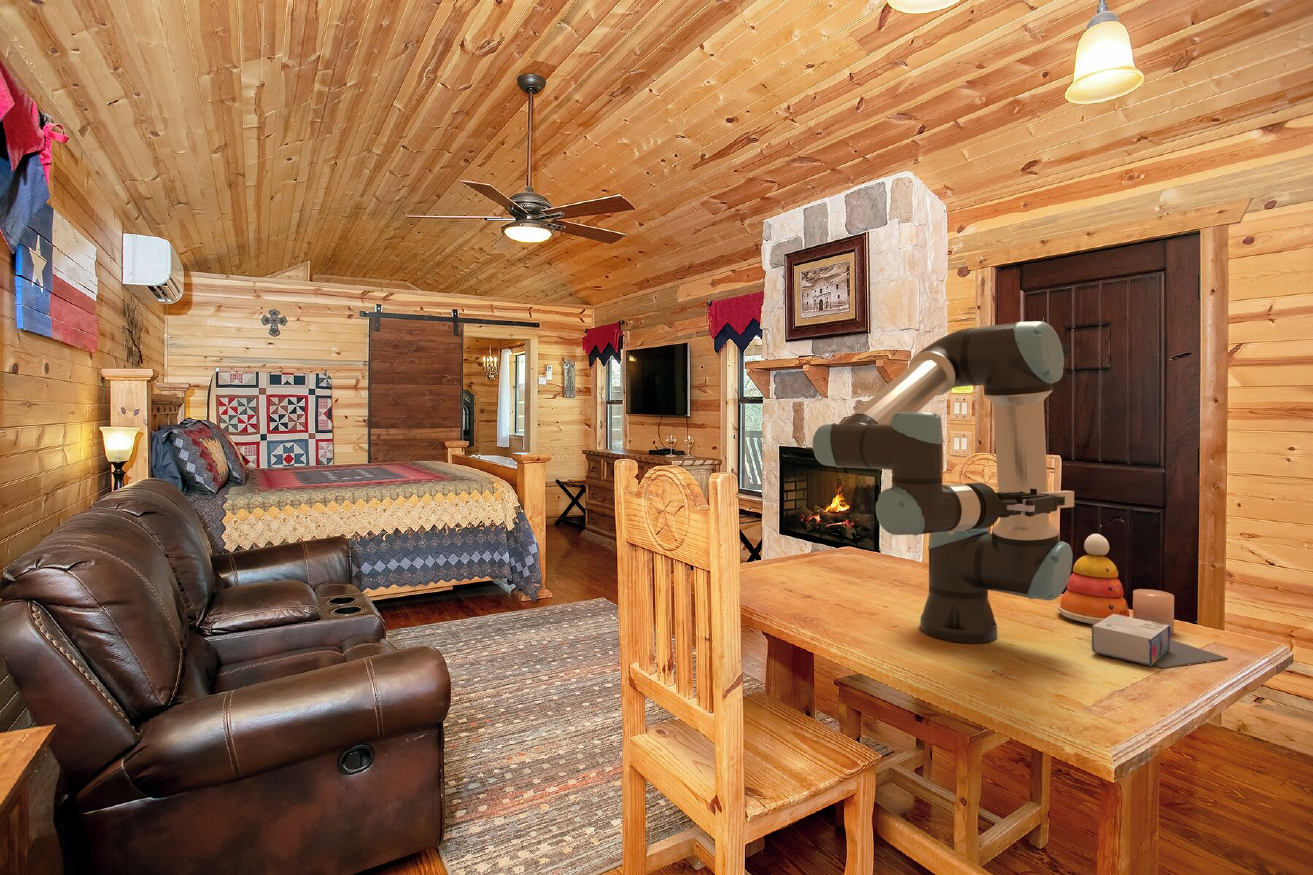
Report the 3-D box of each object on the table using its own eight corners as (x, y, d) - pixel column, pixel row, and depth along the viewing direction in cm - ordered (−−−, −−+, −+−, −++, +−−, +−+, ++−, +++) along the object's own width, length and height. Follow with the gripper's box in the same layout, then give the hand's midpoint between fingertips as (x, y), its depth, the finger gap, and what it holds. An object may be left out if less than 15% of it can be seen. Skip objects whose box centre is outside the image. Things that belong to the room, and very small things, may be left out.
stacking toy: (1098, 632, 141) (1098, 542, 140) (1042, 613, 154) (1042, 530, 154) (1148, 625, 145) (1149, 537, 144) (1090, 607, 158) (1090, 527, 158)
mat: (1102, 646, 132) (1102, 645, 132) (1164, 638, 136) (1164, 637, 136) (1162, 668, 121) (1162, 667, 121) (1227, 659, 125) (1227, 657, 125)
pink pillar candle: (1124, 626, 144) (1125, 590, 144) (1149, 623, 146) (1150, 588, 146) (1156, 637, 137) (1156, 599, 137) (1182, 633, 139) (1182, 596, 139)
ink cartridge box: (1152, 668, 121) (1174, 648, 130) (1153, 639, 120) (1175, 620, 129) (1090, 653, 128) (1115, 634, 137) (1091, 625, 128) (1116, 608, 137)
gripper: (935, 523, 114) (1037, 514, 122) (997, 536, 102) (1106, 525, 110) (935, 480, 114) (1037, 474, 122) (997, 487, 102) (1106, 480, 110)
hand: (1070, 498), depth 116 cm, fingers closed
